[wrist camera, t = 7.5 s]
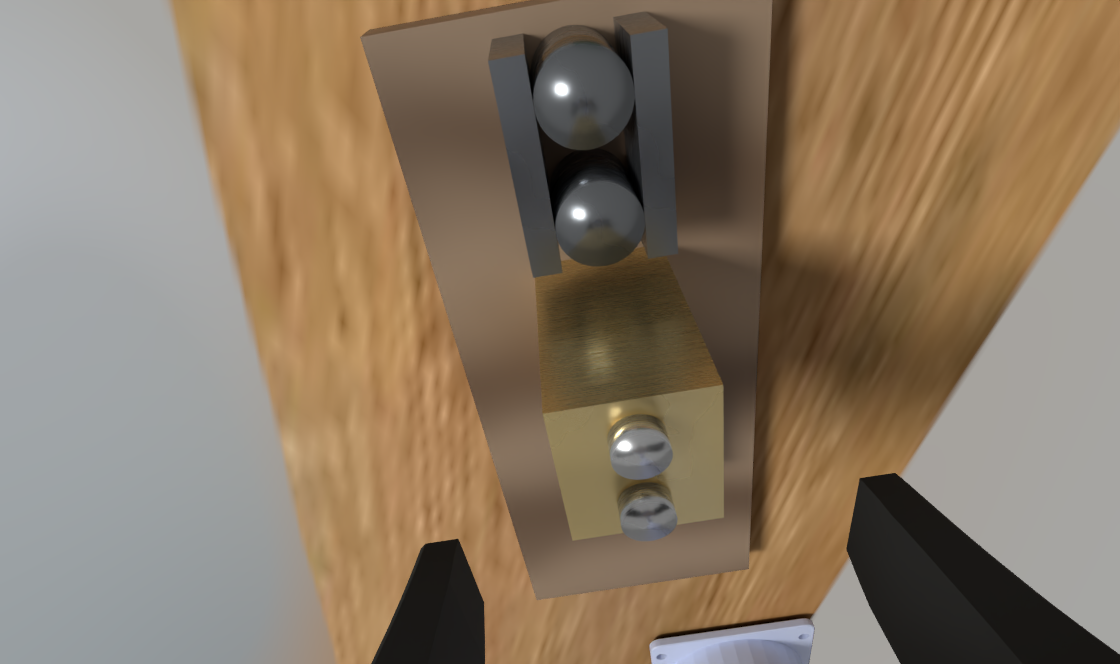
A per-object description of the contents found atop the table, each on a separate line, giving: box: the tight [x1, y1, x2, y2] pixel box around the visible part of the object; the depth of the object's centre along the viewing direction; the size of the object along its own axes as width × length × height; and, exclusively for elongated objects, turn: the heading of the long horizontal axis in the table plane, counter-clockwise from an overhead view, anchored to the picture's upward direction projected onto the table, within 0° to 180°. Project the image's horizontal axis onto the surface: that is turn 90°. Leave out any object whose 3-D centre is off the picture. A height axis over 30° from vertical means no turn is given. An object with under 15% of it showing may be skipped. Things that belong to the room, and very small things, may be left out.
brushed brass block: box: [535, 247, 724, 541], centre depth 15 cm, size 4×4×7 cm
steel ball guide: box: [488, 11, 678, 278], centre depth 16 cm, size 14×3×2 cm, turn 9°
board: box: [360, 0, 772, 600], centre depth 20 cm, size 22×9×1 cm, turn 9°
